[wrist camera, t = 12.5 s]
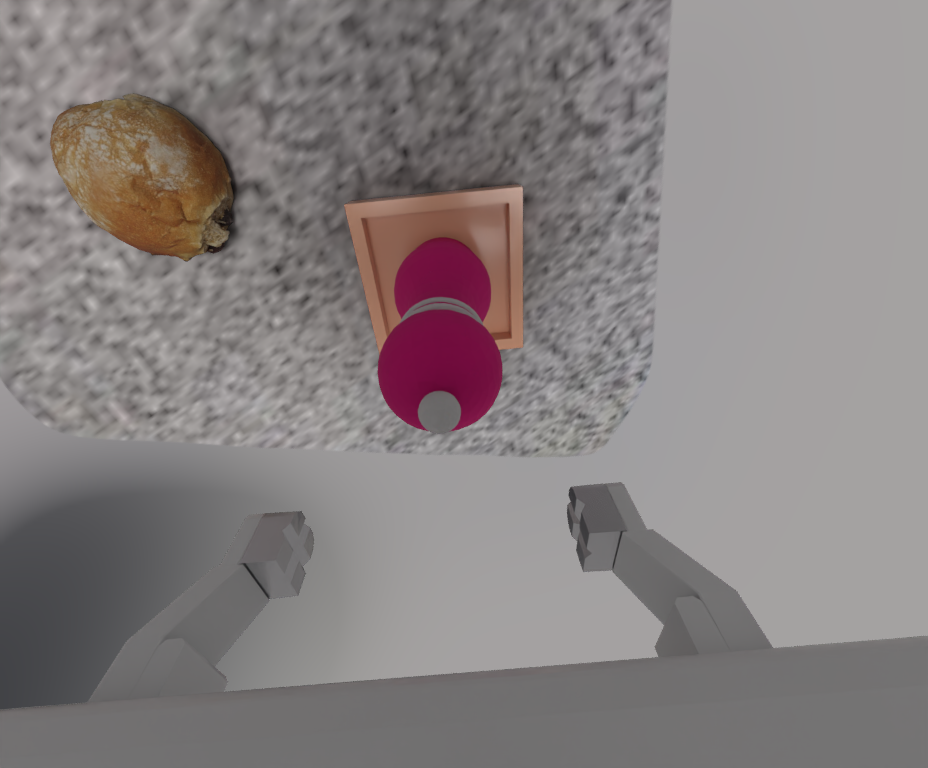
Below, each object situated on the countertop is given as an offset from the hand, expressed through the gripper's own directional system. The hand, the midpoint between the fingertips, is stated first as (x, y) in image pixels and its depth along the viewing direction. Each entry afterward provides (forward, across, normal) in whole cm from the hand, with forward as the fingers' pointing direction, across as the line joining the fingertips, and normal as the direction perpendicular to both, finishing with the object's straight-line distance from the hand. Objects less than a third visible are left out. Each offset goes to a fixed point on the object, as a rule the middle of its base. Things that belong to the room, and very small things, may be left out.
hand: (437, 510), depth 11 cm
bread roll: (+25, +19, -8) cm, 33 cm away
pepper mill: (+24, 0, 0) cm, 24 cm away
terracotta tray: (+25, 0, 0) cm, 25 cm away
